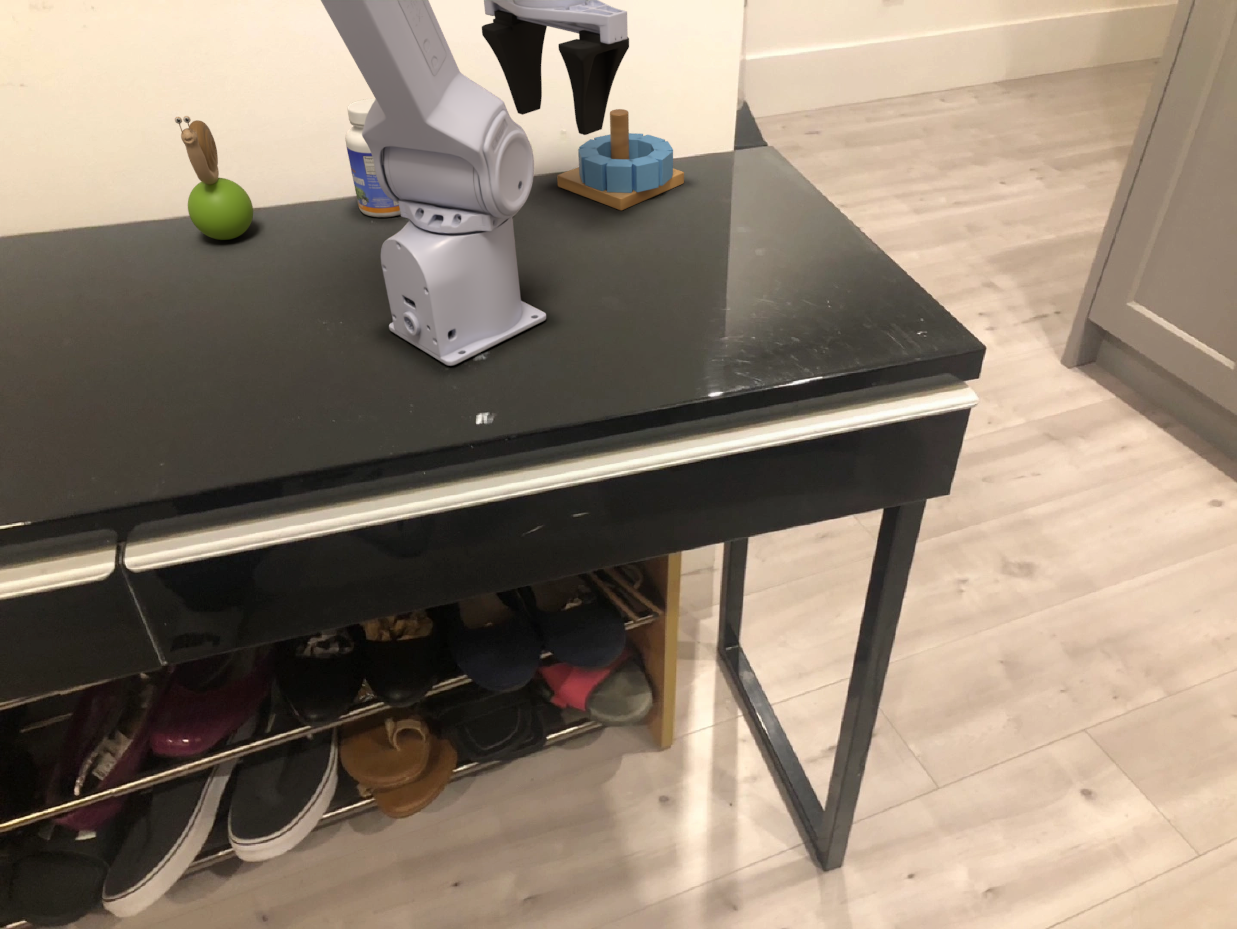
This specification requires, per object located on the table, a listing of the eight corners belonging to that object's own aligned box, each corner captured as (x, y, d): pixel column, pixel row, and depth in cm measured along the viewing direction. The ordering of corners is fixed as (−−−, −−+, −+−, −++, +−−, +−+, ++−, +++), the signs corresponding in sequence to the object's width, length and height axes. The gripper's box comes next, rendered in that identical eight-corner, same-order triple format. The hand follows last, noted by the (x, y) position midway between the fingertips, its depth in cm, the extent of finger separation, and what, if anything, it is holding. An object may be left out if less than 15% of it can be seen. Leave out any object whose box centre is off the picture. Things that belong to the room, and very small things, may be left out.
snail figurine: (192, 257, 81) (145, 120, 74) (203, 228, 86) (160, 96, 79) (256, 250, 82) (216, 114, 74) (262, 221, 87) (225, 90, 79)
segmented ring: (628, 201, 86) (627, 173, 84) (560, 176, 91) (559, 150, 89) (691, 173, 91) (691, 147, 89) (623, 151, 96) (623, 126, 94)
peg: (621, 210, 87) (619, 134, 82) (557, 186, 92) (552, 113, 87) (684, 183, 92) (685, 110, 87) (620, 161, 97) (618, 91, 92)
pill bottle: (357, 200, 90) (335, 99, 84) (412, 193, 91) (395, 92, 85) (362, 222, 86) (340, 117, 80) (419, 214, 87) (402, 110, 81)
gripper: (655, -64, 66) (655, 127, 74) (524, -83, 74) (537, 91, 82) (584, -49, 62) (593, 151, 70) (454, -71, 70) (475, 111, 78)
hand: (559, 120), depth 76 cm, fingers open, 7 cm apart
